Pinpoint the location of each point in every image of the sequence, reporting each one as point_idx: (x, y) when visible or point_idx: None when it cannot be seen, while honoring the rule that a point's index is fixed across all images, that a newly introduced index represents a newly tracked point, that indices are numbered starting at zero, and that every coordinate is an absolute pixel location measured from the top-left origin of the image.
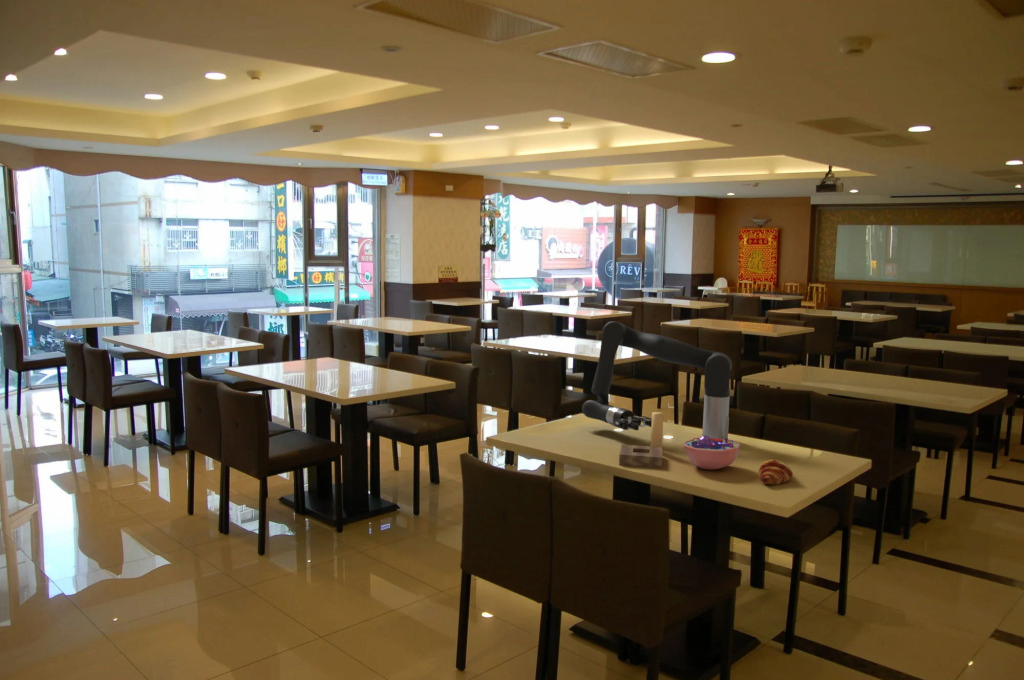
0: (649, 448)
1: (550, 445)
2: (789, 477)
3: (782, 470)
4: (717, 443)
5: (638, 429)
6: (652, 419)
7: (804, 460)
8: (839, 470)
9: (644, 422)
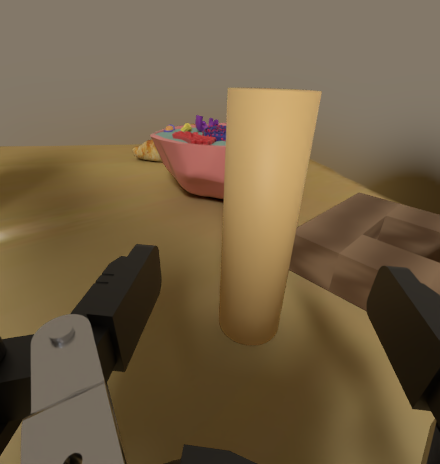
0: (356, 239)
1: None
2: None
3: None
4: (218, 130)
5: (369, 299)
6: (311, 145)
7: (17, 165)
8: (61, 148)
9: (116, 425)
